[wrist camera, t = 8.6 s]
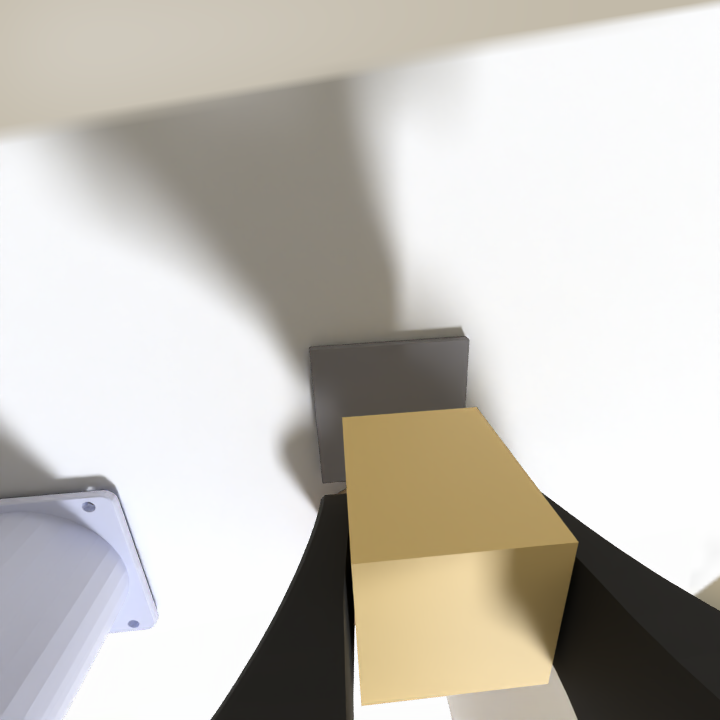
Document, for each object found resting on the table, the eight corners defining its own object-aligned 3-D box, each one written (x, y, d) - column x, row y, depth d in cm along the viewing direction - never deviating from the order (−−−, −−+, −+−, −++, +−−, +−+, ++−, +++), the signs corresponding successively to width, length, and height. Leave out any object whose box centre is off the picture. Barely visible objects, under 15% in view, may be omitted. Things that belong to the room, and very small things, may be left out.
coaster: (322, 477, 17) (322, 482, 16) (309, 347, 14) (309, 350, 14) (458, 465, 17) (461, 471, 17) (465, 336, 15) (469, 339, 14)
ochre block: (349, 523, 13) (361, 705, 8) (342, 417, 11) (351, 564, 6) (468, 512, 13) (548, 683, 8) (476, 407, 11) (578, 541, 7)
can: (411, 532, 18) (544, 1042, 7) (544, 508, 18) (885, 973, 7) (424, 622, 21) (538, 1110, 9) (541, 600, 21) (792, 1058, 9)
